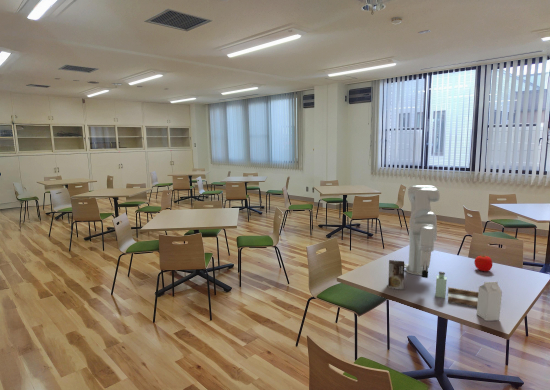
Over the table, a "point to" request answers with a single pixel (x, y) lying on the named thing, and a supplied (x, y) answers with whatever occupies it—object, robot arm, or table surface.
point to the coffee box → (396, 274)
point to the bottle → (441, 285)
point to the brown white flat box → (462, 297)
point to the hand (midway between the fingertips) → (424, 277)
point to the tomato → (483, 263)
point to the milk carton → (489, 301)
